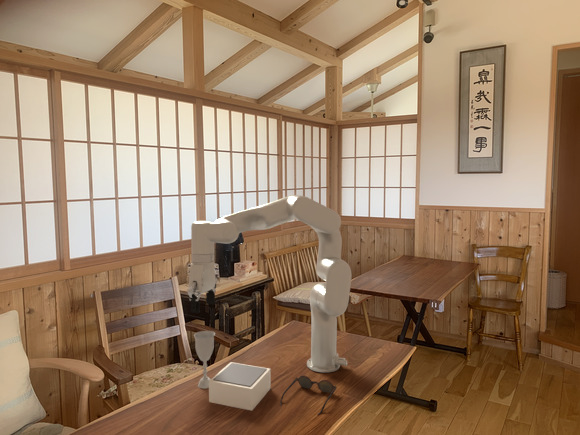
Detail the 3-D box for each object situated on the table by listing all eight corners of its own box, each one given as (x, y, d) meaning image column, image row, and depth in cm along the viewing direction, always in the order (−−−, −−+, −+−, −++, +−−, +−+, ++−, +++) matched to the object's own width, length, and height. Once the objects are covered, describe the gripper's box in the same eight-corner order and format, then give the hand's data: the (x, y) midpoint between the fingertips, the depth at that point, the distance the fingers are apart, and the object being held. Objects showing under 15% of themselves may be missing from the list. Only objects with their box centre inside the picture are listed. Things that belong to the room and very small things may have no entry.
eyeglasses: (336, 395, 148) (336, 380, 147) (321, 417, 134) (321, 401, 134) (296, 386, 153) (296, 372, 153) (277, 406, 140) (277, 391, 140)
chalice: (197, 391, 148) (196, 339, 147) (192, 383, 154) (191, 332, 153) (218, 386, 152) (218, 335, 150) (212, 378, 158) (211, 329, 156)
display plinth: (270, 388, 151) (270, 367, 150) (251, 410, 137) (251, 388, 136) (230, 381, 156) (230, 361, 155) (209, 402, 142) (208, 380, 141)
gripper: (206, 253, 158) (206, 300, 160) (178, 261, 142) (178, 314, 143) (225, 254, 155) (225, 302, 157) (199, 263, 139) (199, 317, 141)
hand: (203, 308), depth 150 cm, fingers open, 9 cm apart
